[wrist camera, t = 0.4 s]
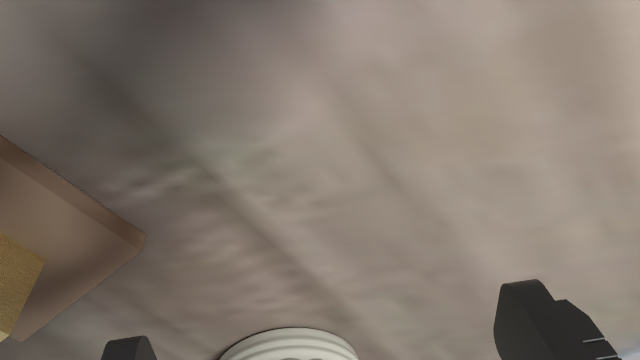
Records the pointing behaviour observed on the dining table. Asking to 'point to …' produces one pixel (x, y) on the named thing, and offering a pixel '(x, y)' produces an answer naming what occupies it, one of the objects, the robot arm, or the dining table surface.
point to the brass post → (15, 280)
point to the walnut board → (58, 236)
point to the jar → (291, 346)
